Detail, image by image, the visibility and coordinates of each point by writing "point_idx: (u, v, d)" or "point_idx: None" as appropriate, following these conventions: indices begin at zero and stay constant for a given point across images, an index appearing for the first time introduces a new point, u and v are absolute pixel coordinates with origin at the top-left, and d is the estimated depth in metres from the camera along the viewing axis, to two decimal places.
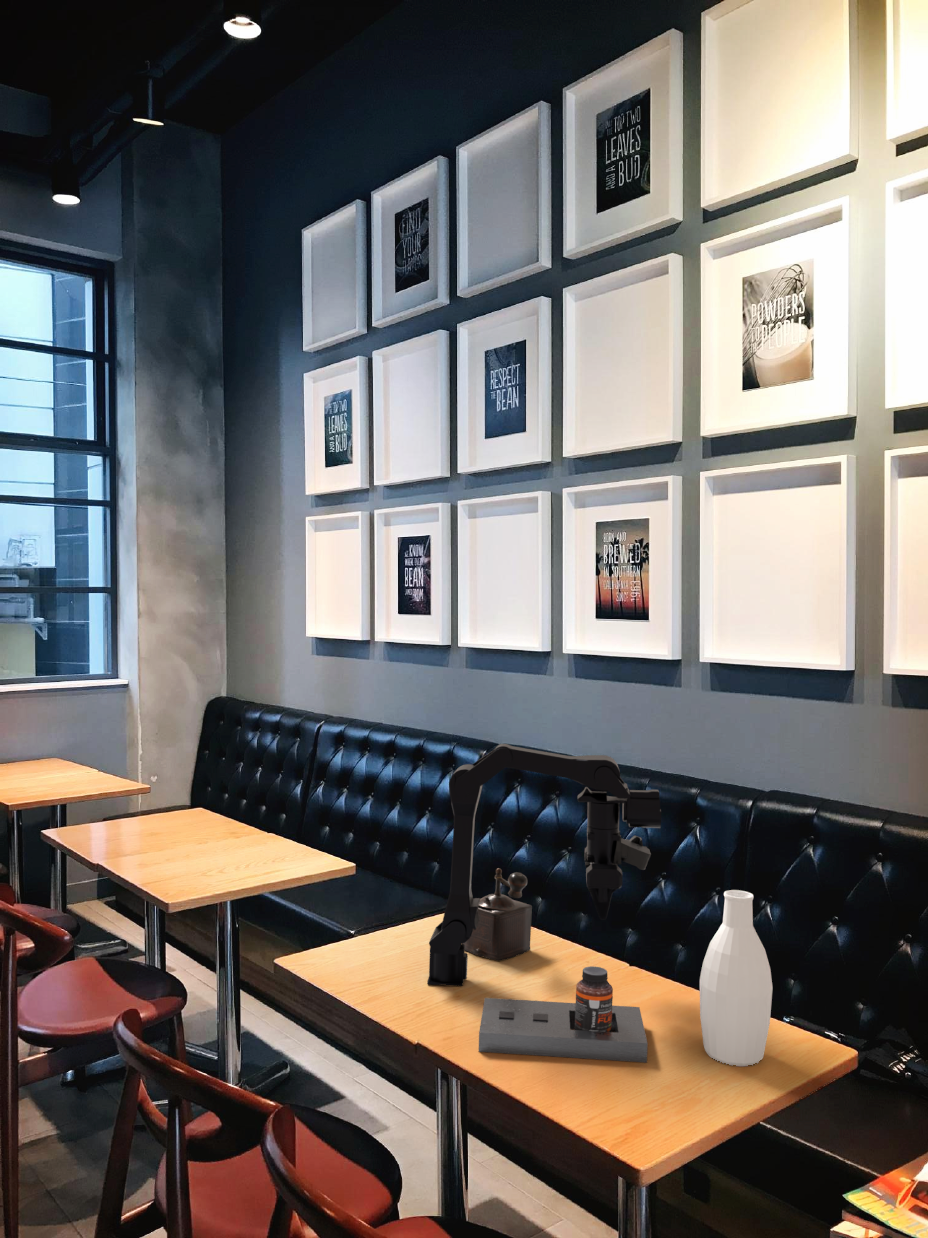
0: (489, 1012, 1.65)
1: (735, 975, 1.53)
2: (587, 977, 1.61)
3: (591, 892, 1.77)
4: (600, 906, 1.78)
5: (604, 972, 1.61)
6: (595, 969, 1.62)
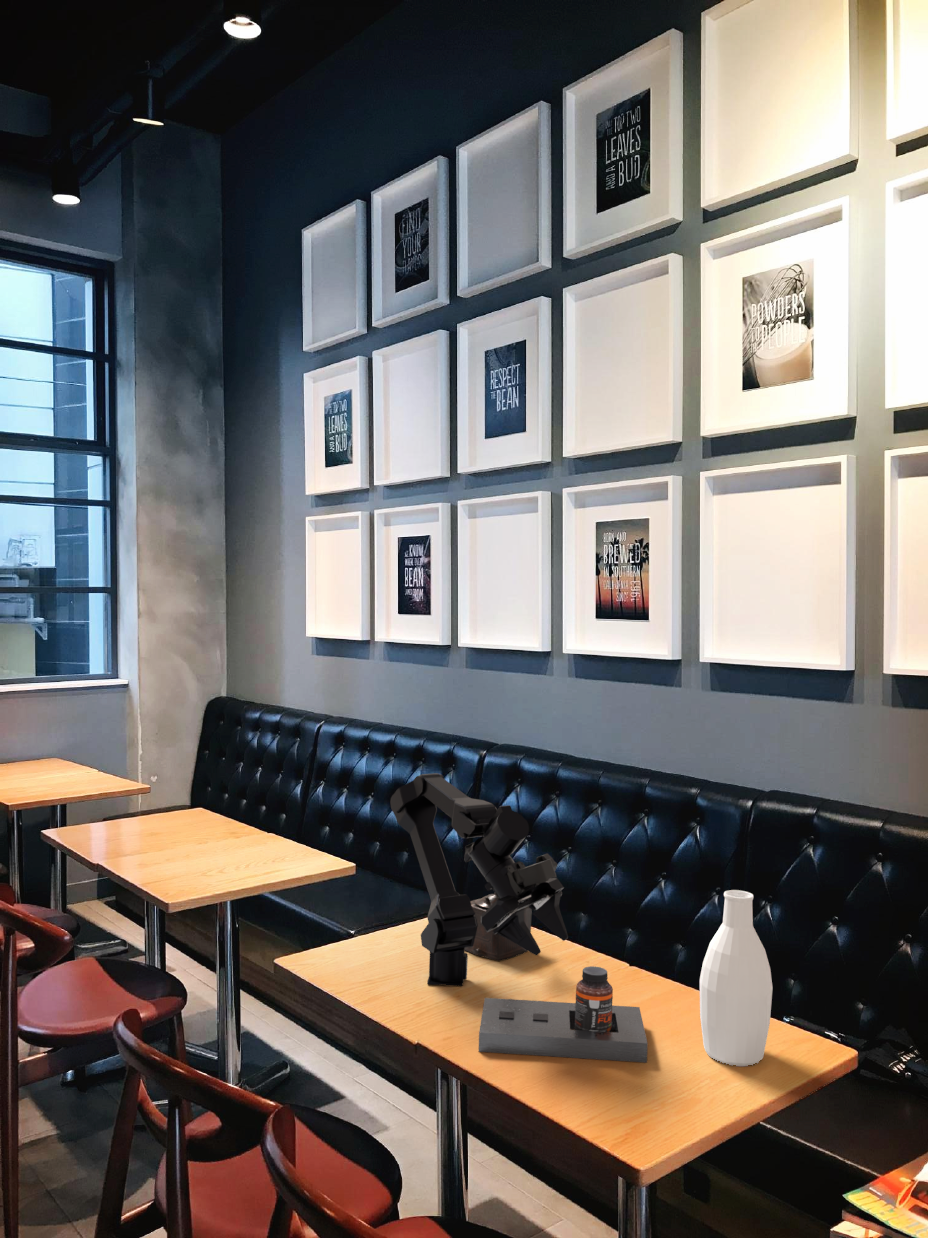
0: (489, 1012, 1.65)
1: (735, 975, 1.53)
2: (587, 977, 1.61)
3: (505, 936, 1.64)
4: (525, 943, 1.63)
5: (604, 972, 1.61)
6: (595, 969, 1.62)
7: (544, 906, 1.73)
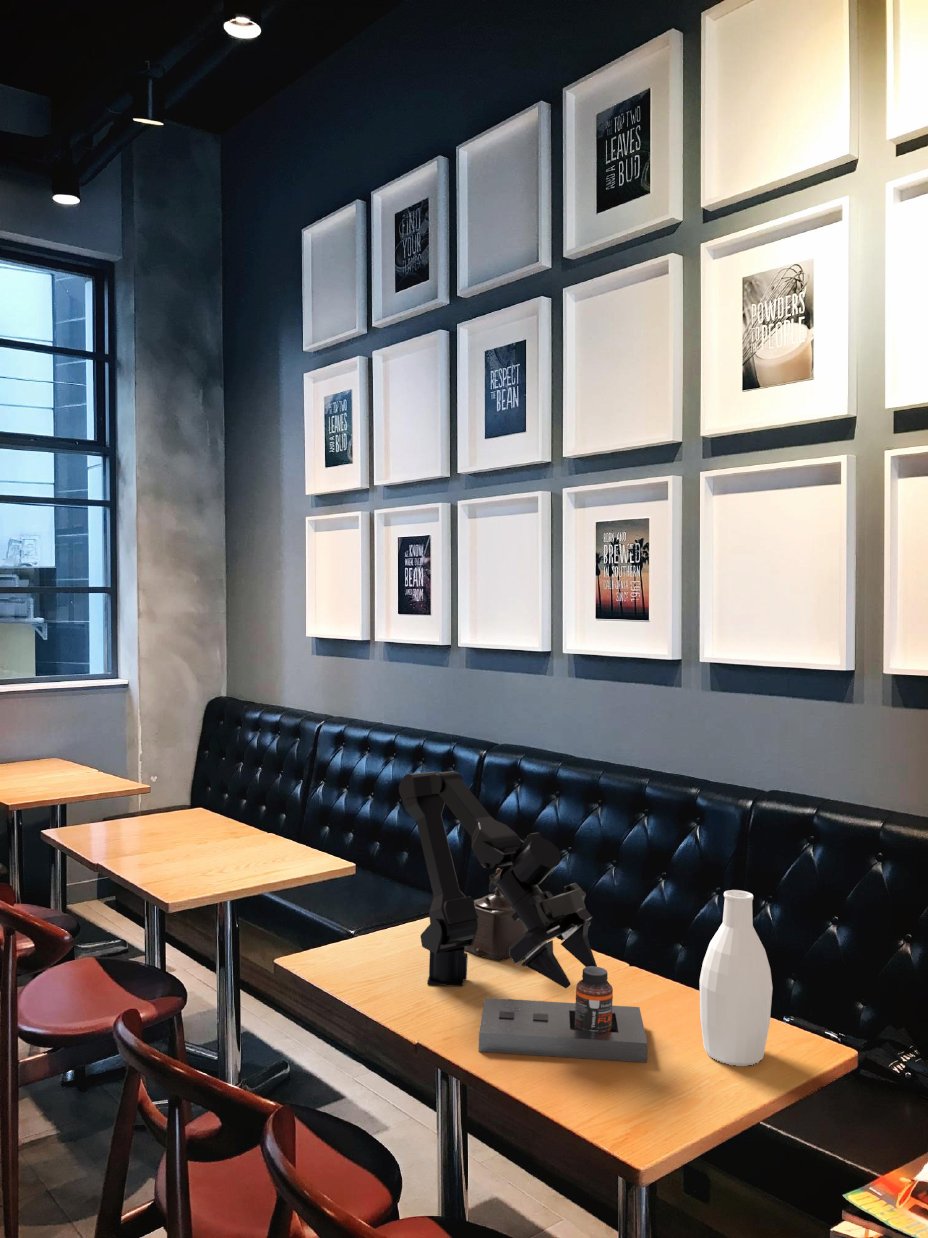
0: (489, 1012, 1.65)
1: (735, 975, 1.53)
2: (587, 977, 1.61)
3: (534, 968, 1.61)
4: (554, 975, 1.60)
5: (604, 972, 1.61)
6: (595, 969, 1.62)
7: (572, 936, 1.70)
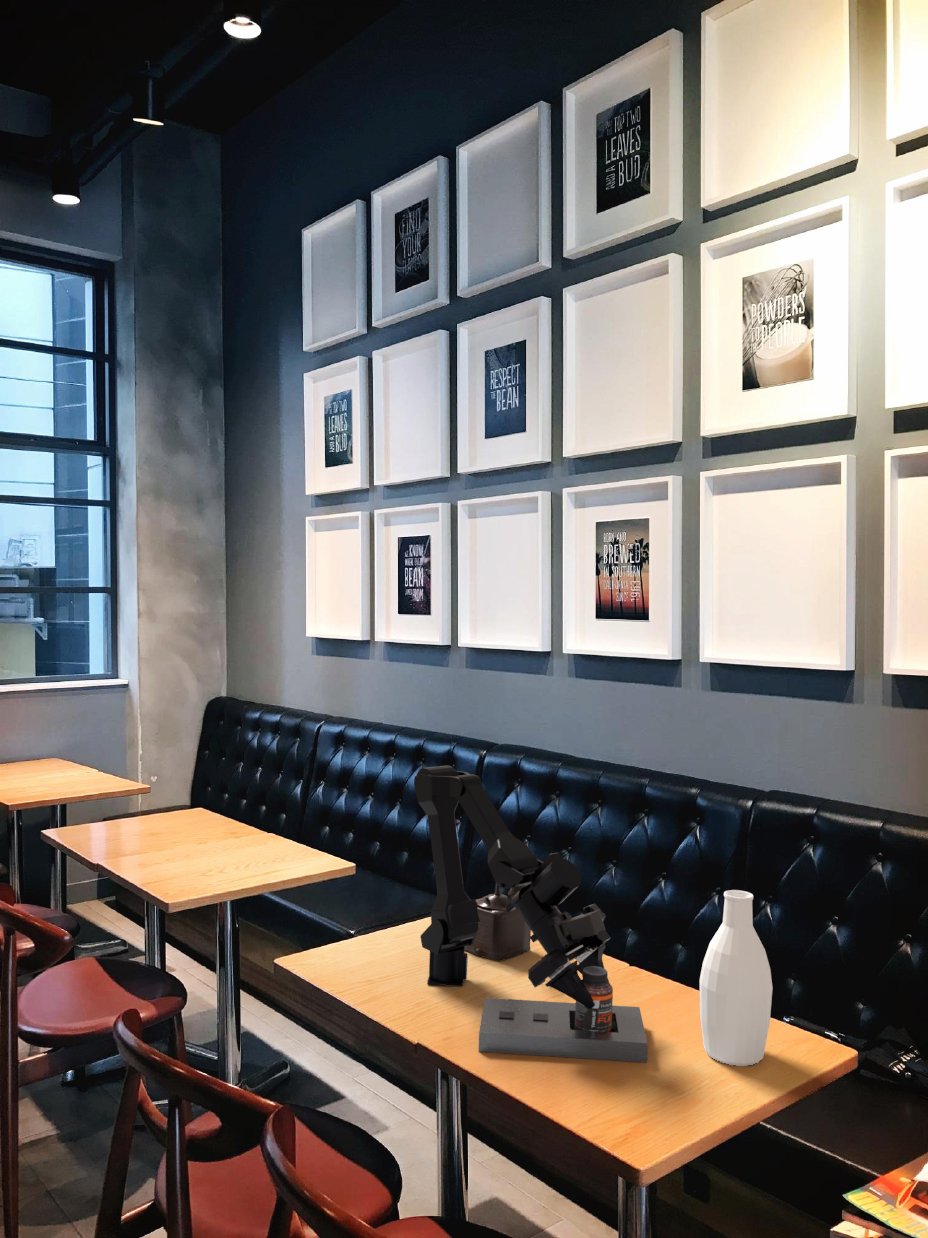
0: (489, 1012, 1.65)
1: (735, 975, 1.53)
2: (587, 977, 1.61)
3: (558, 989, 1.60)
4: (578, 996, 1.59)
5: (604, 972, 1.61)
6: (595, 969, 1.62)
7: (587, 960, 1.67)
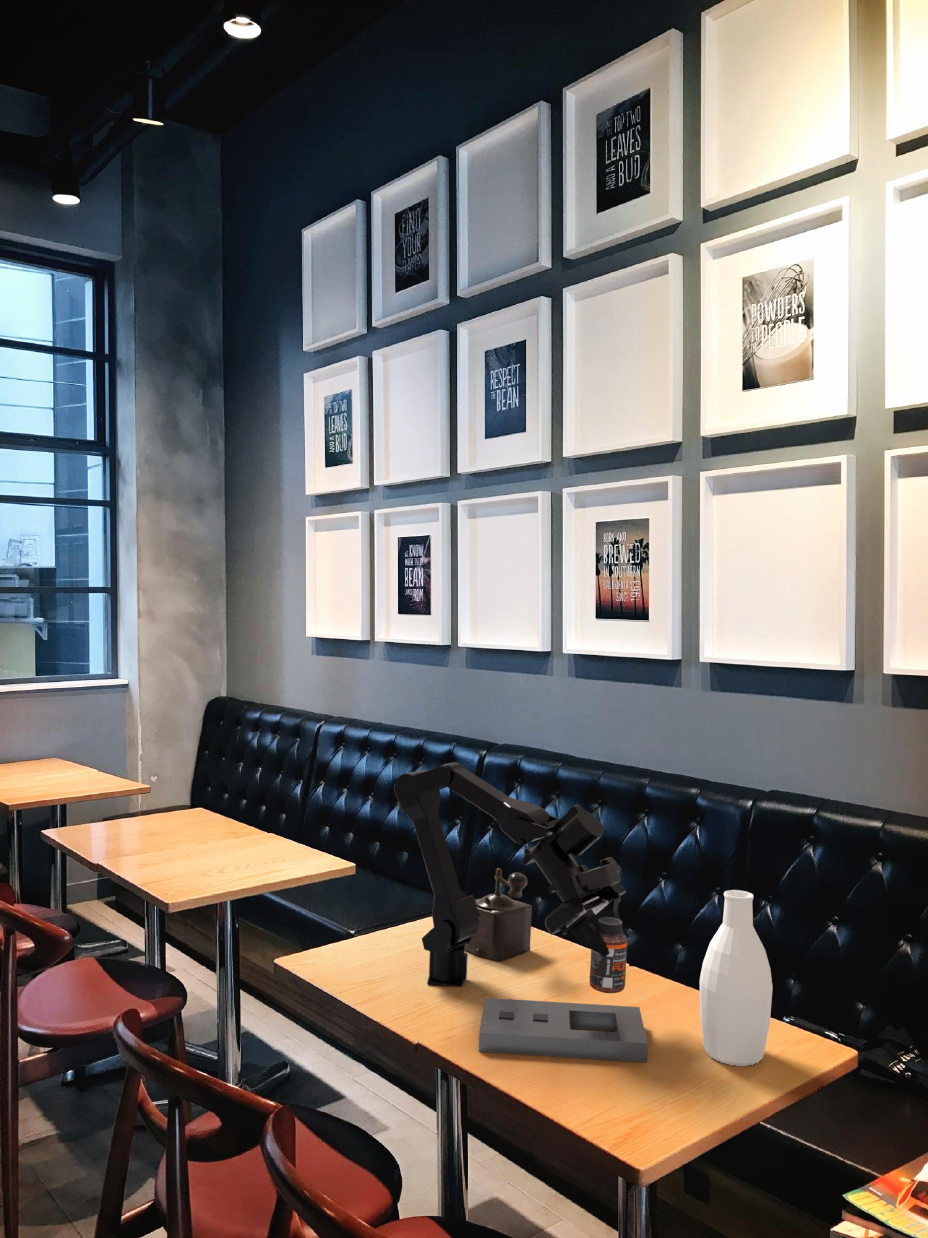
0: (489, 1012, 1.65)
1: (735, 975, 1.53)
2: (602, 926, 1.66)
3: (574, 937, 1.65)
4: (593, 944, 1.64)
5: (619, 922, 1.66)
6: (610, 920, 1.67)
7: (603, 911, 1.72)
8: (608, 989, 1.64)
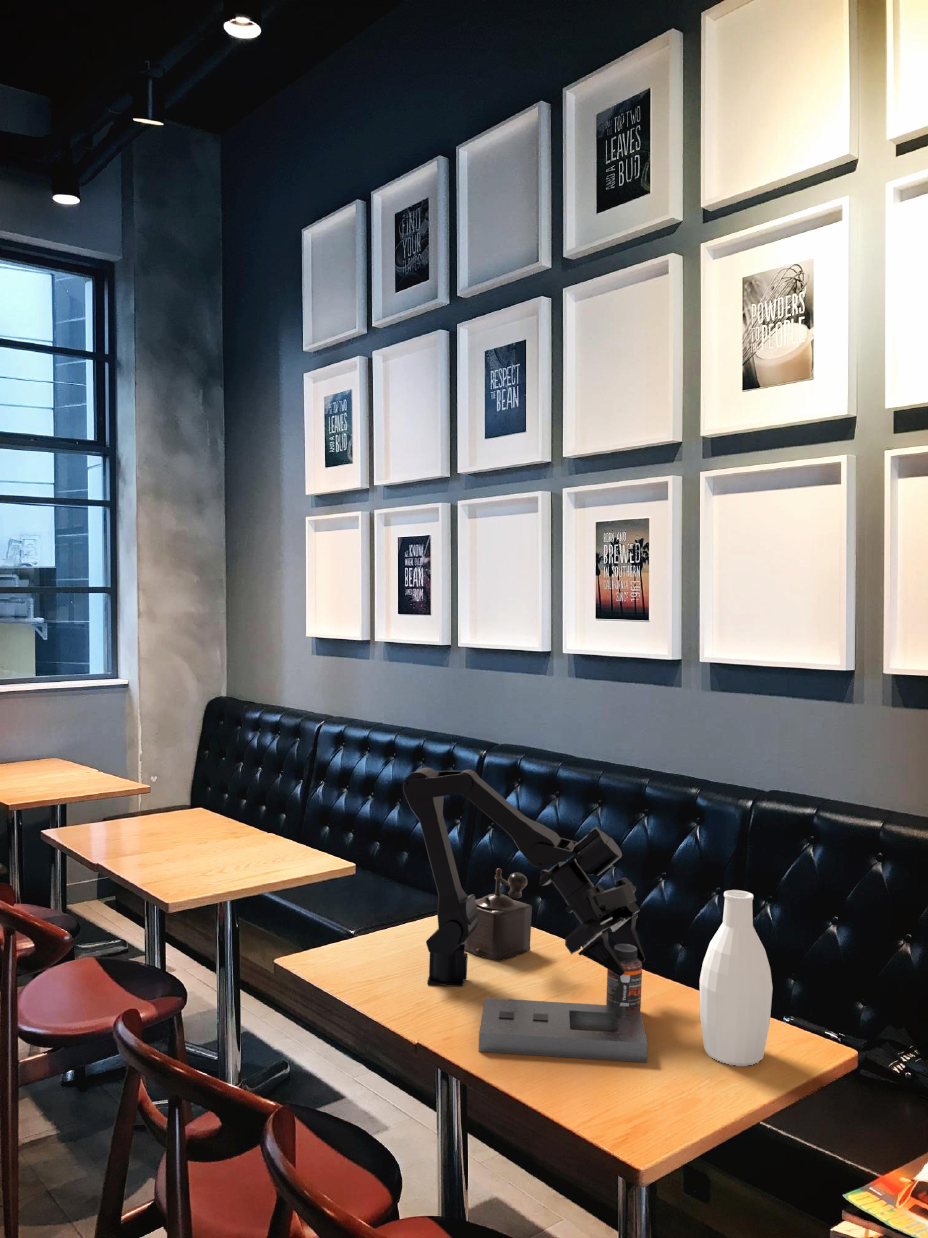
0: (489, 1012, 1.65)
1: (735, 975, 1.53)
2: (618, 953, 1.72)
3: (590, 957, 1.71)
4: (609, 964, 1.70)
5: (634, 949, 1.73)
6: (625, 946, 1.74)
7: (621, 928, 1.79)
8: None
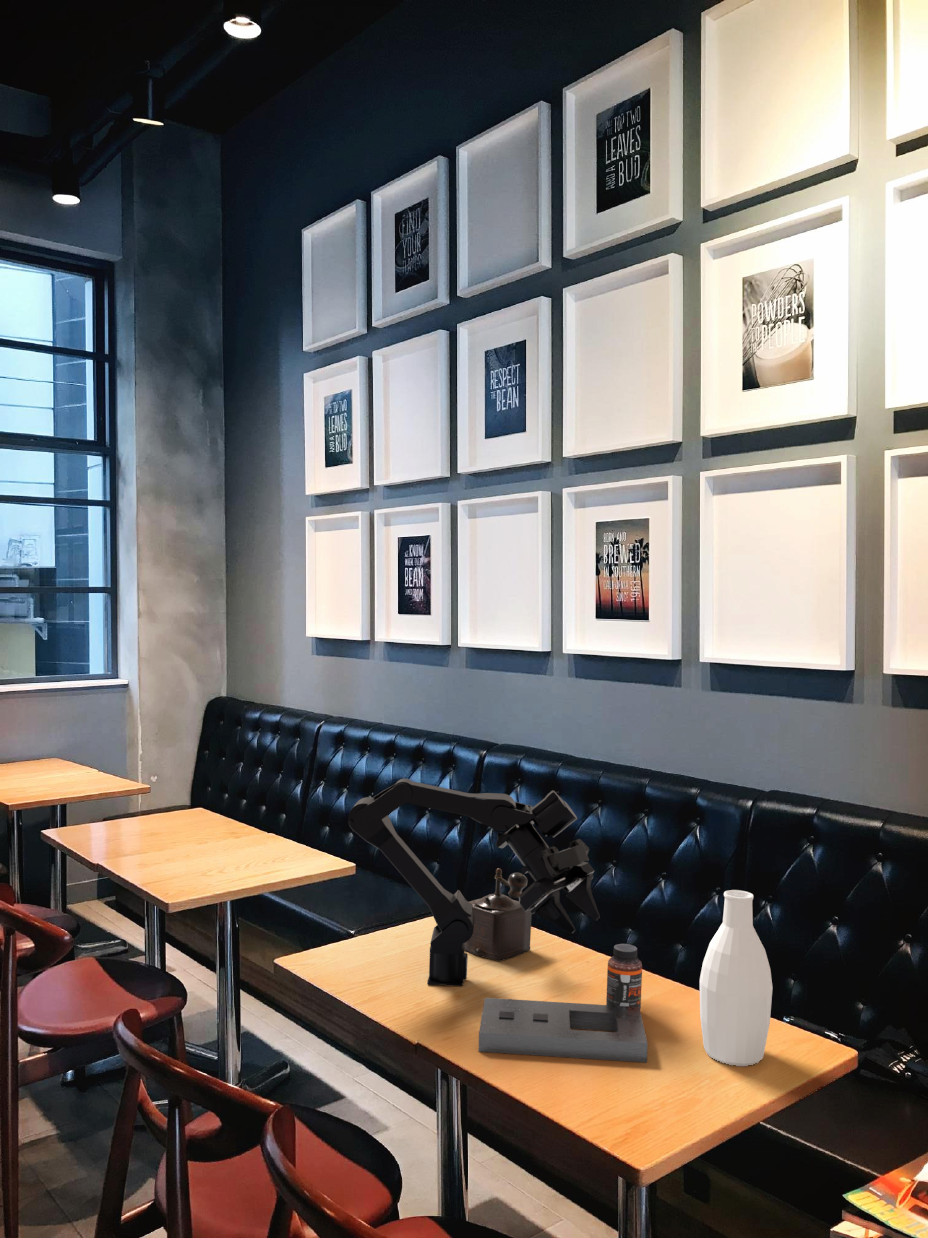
0: (489, 1012, 1.65)
1: (735, 975, 1.53)
2: (618, 953, 1.72)
3: (542, 916, 1.76)
4: (560, 922, 1.75)
5: (634, 949, 1.73)
6: (625, 946, 1.74)
7: (577, 888, 1.85)
8: None
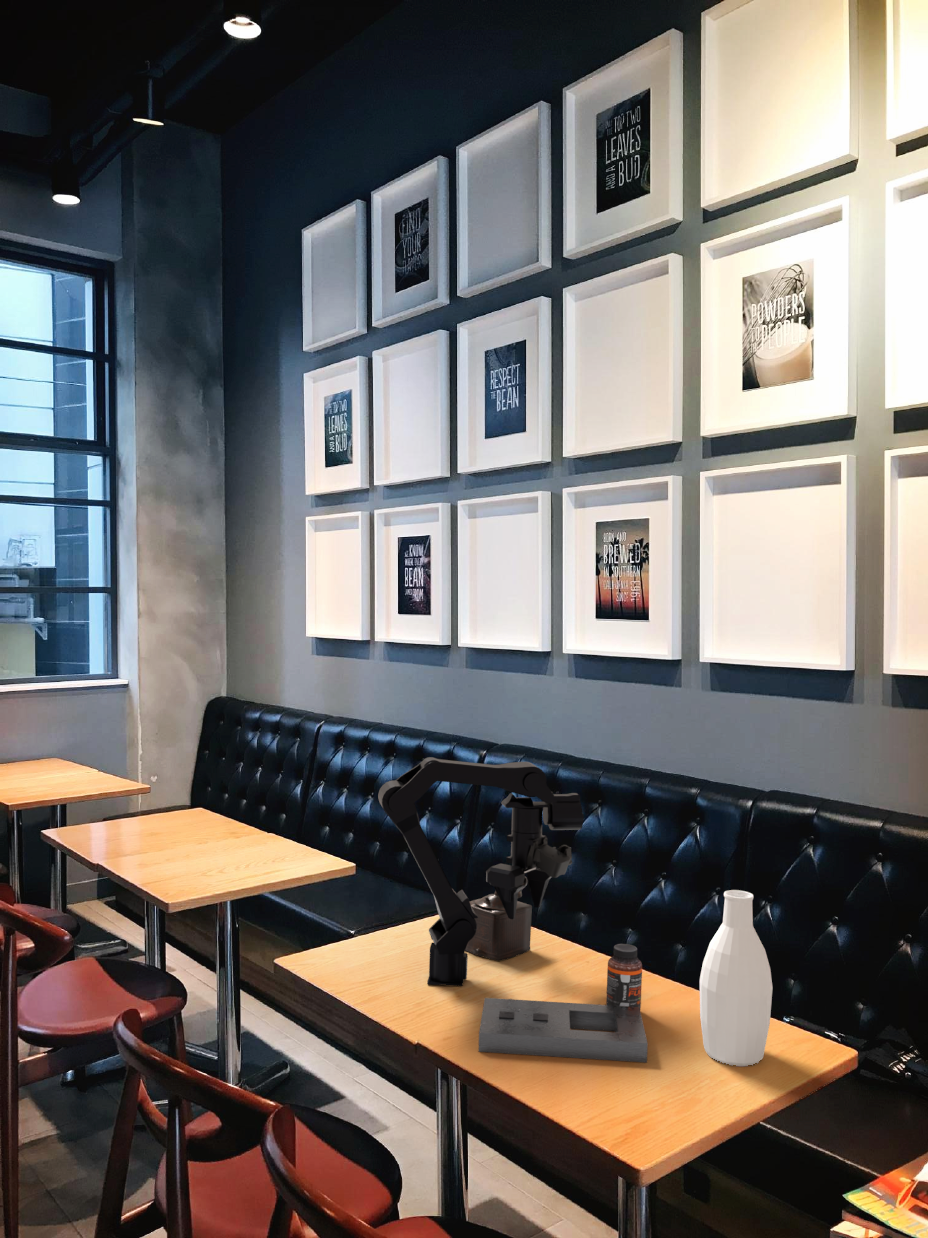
0: (489, 1012, 1.65)
1: (735, 975, 1.53)
2: (618, 953, 1.72)
3: (497, 890, 1.85)
4: (507, 905, 1.85)
5: (634, 949, 1.73)
6: (625, 946, 1.74)
7: (539, 872, 1.93)
8: None
